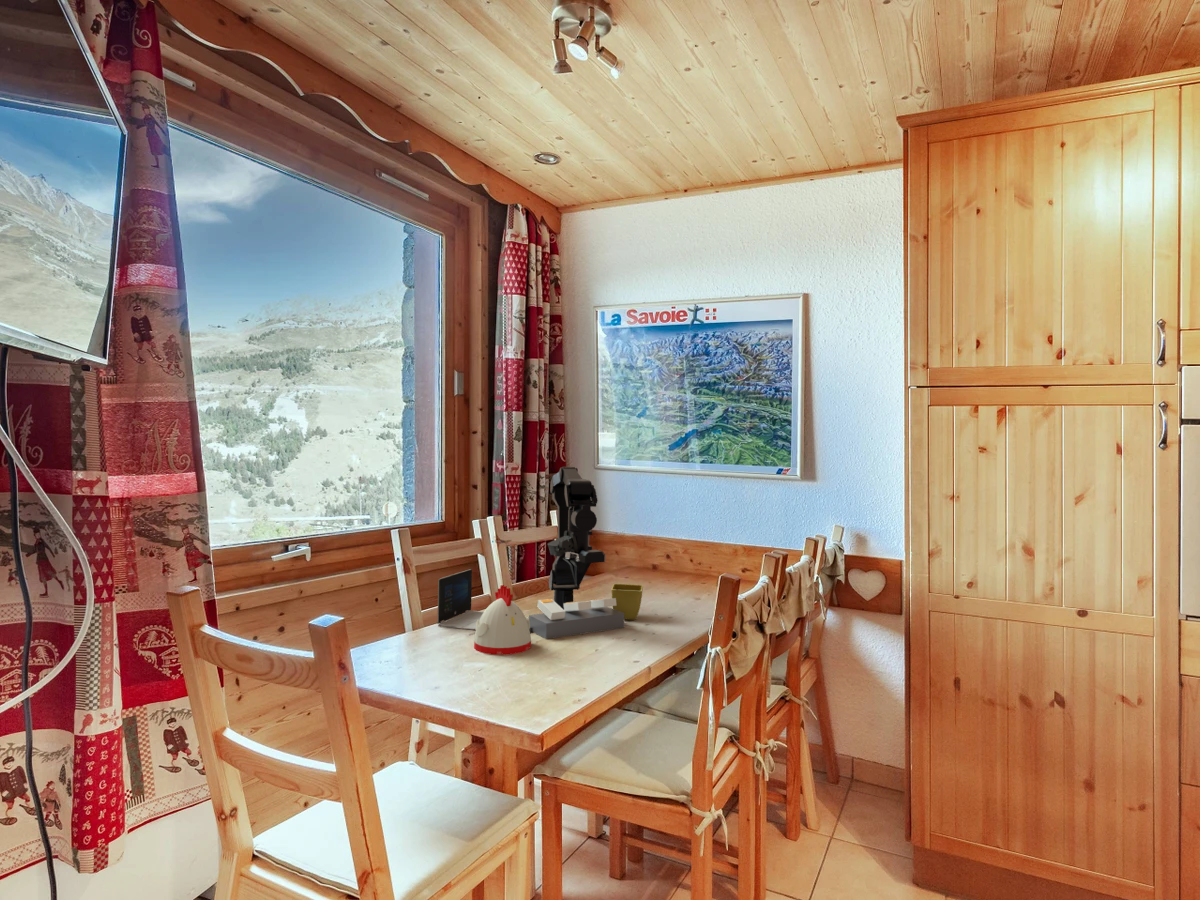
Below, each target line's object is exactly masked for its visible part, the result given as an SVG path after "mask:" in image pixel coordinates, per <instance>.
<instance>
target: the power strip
mask: <svg viewBox="0 0 1200 900" xmlns="http://www.w3.org/2000/svg"><path fill="white" fill-rule="evenodd" d="M528 617H529V620H530V629H529V631H530V633H534V634H536V635H538V636H539V637H541V638H543V639H545V640H549V639H555V638H562V637H569V636H575V635H577V636H578V635H582V634H590V633H598V632H604V631H612V630H618V629H624V628H625V619H624V613H623V612H620V611H617V610H614V609H613V607H610V606H609V607H596V608H592V609H584V610H573V611H565V618H563V619H556V620H550V619H549V618H548V617H547V616H546V615H545V614H544V613H543V612H542V613H536V614H528Z"/></svg>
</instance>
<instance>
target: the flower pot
mask: <svg viewBox="0 0 1200 900" xmlns="http://www.w3.org/2000/svg"><path fill="white" fill-rule="evenodd" d="M643 589H644V585H643V584H630V583H613V584H612V587H611V598H616V604H617V606H612V609H614V610H617V611H620V612H623V613H624V620H630V621H635V620H636V619H637V616H638V615H639V612H640V609H641V605H642V597H643Z"/></svg>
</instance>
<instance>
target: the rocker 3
mask: <svg viewBox="0 0 1200 900" xmlns="http://www.w3.org/2000/svg"><path fill="white" fill-rule="evenodd" d="M588 601H591V608H596V607H609V608H610V607H613V606H617V604H616V598H612V597H611V598H596V599H590V600H588Z"/></svg>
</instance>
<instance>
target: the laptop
mask: <svg viewBox="0 0 1200 900" xmlns="http://www.w3.org/2000/svg"><path fill="white" fill-rule="evenodd" d="M472 573H473V570H472V568H470V569H466V570H464V571H460V572H456V573H454V574H453V573H452V574H449V575H447V576H443V577H441V578H438V579H437V581H438V582H437V621H436V622H437V623H436V624H437V627H440V628H451V629H462V630H471V631H472V630H474V631H476V622H477V620H480V618H481V616H482V614H483V613H484V611H482V610H481V611H479V610H472V589H473V588H472V587H473V585H472V582H473V581H472V579H473V577H472V575H473V574H472Z"/></svg>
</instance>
